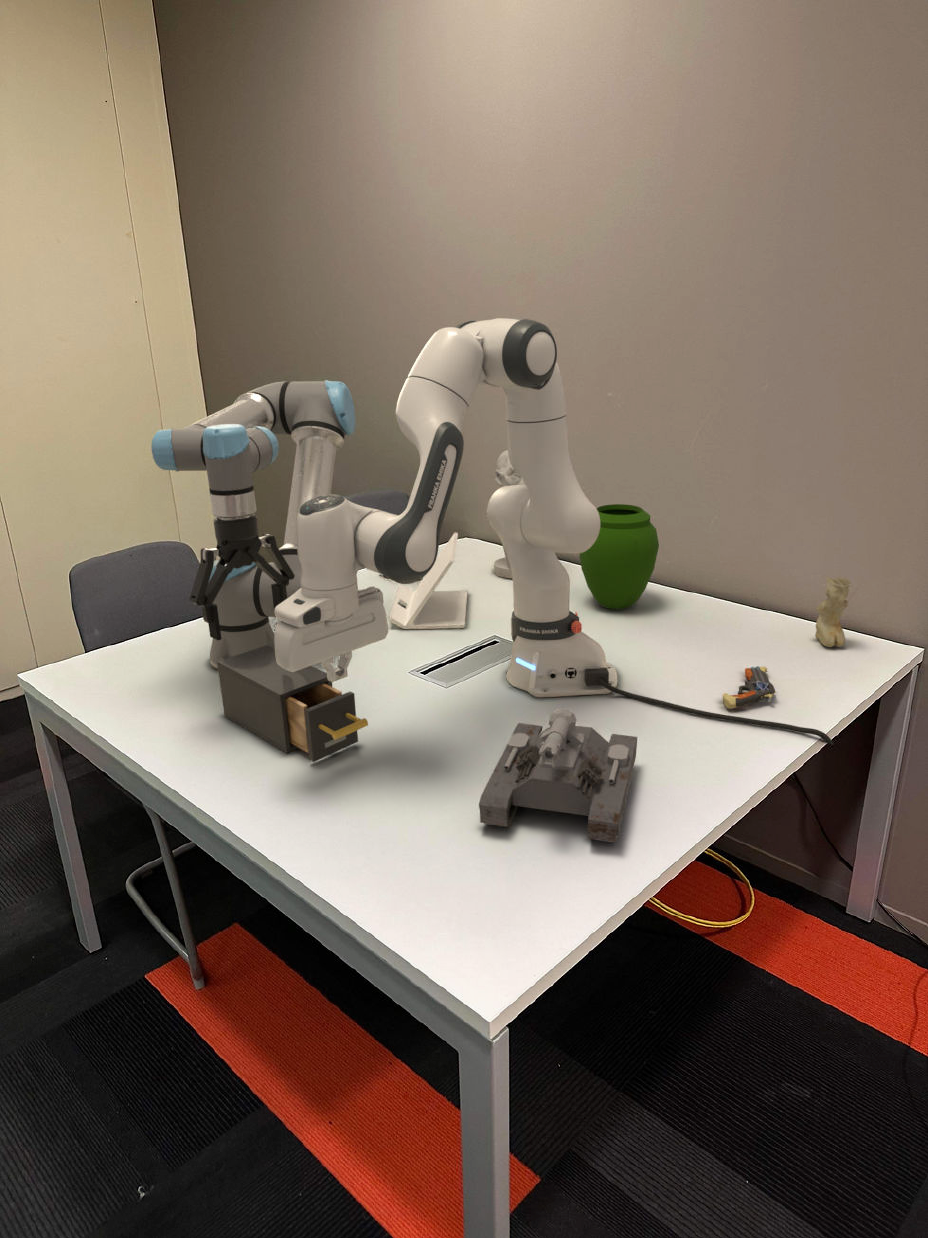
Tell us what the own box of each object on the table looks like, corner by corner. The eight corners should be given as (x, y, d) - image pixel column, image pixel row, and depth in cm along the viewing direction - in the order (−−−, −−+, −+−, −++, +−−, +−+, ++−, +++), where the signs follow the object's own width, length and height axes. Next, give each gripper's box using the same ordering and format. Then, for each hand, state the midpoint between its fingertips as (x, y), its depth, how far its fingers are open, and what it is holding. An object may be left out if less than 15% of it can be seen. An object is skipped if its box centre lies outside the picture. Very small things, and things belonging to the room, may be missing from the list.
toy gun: (724, 699, 158) (781, 696, 155) (715, 664, 175) (766, 661, 173) (725, 713, 158) (782, 710, 156) (716, 677, 176) (766, 674, 174)
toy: (518, 748, 148) (518, 669, 142) (636, 762, 142) (640, 680, 137) (479, 832, 125) (476, 741, 120) (616, 853, 119) (620, 758, 114)
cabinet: (336, 732, 156) (331, 675, 151) (286, 753, 149) (280, 695, 145) (272, 697, 170) (266, 645, 166) (224, 716, 163) (216, 661, 159)
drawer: (377, 752, 146) (373, 702, 143) (332, 773, 140) (327, 722, 137) (293, 707, 163) (288, 662, 160) (250, 724, 157) (244, 677, 154)
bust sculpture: (503, 593, 225) (502, 460, 212) (483, 567, 247) (480, 445, 234) (562, 587, 228) (563, 456, 215) (536, 562, 250) (536, 441, 237)
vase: (599, 587, 227) (601, 497, 218) (668, 600, 216) (673, 505, 208) (562, 608, 212) (564, 513, 204) (634, 623, 202) (639, 523, 193)
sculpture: (821, 649, 184) (830, 583, 179) (808, 637, 191) (816, 573, 185) (848, 649, 184) (858, 582, 179) (834, 636, 191) (843, 572, 185)
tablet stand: (467, 593, 225) (465, 531, 219) (465, 628, 202) (462, 559, 196) (399, 594, 226) (395, 532, 220) (388, 629, 203) (384, 560, 197)
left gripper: (283, 499, 161) (294, 605, 168) (158, 525, 144) (176, 641, 152) (306, 505, 156) (316, 614, 163) (179, 532, 139) (197, 652, 147)
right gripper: (369, 579, 144) (374, 655, 149) (264, 611, 131) (274, 692, 136) (393, 587, 140) (398, 664, 145) (288, 620, 126) (297, 704, 131)
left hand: (249, 627), depth 157 cm, fingers open, 13 cm apart
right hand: (337, 678), depth 140 cm, fingers closed
